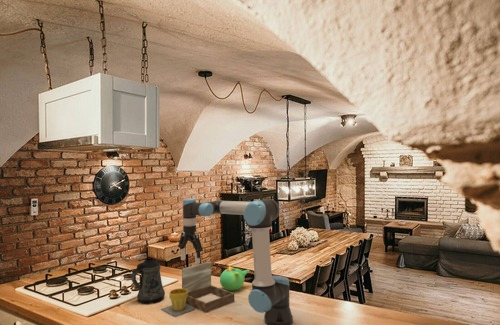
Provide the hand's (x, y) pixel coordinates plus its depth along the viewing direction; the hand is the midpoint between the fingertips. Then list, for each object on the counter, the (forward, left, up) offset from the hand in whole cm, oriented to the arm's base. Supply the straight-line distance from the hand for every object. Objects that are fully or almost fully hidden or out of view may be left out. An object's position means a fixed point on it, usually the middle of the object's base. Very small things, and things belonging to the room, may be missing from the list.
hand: (190, 261), depth 200 cm
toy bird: (+4, -37, -27) cm, 46 cm away
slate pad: (+3, +7, -27) cm, 27 cm away
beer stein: (+28, +11, -27) cm, 40 cm away
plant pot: (+2, +6, -26) cm, 27 cm away
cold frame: (-1, -12, -27) cm, 29 cm away
